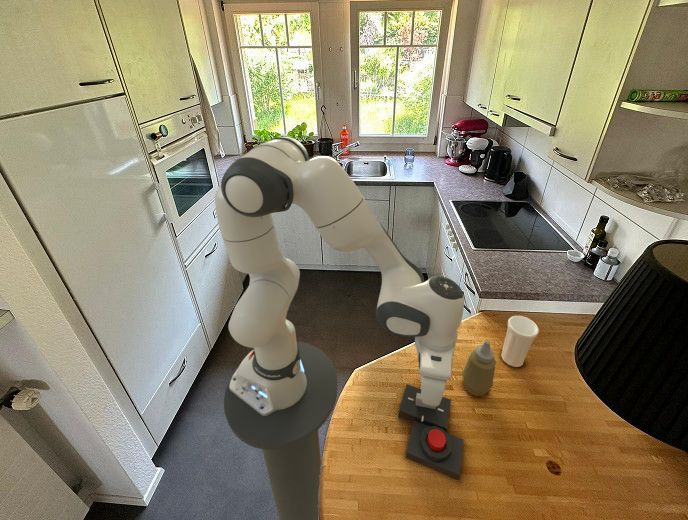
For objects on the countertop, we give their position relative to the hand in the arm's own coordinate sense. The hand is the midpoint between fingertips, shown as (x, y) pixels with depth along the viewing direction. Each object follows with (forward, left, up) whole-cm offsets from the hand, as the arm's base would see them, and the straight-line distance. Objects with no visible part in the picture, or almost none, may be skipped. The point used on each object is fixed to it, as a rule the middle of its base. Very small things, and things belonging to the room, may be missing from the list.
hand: (427, 379), depth 80 cm
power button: (+5, -9, -9) cm, 13 cm away
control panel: (+1, 0, -13) cm, 13 cm away
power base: (+5, -9, -13) cm, 16 cm away
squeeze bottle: (+13, +12, -13) cm, 22 cm away
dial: (+1, 0, -9) cm, 9 cm away
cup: (+23, +26, -13) cm, 37 cm away
